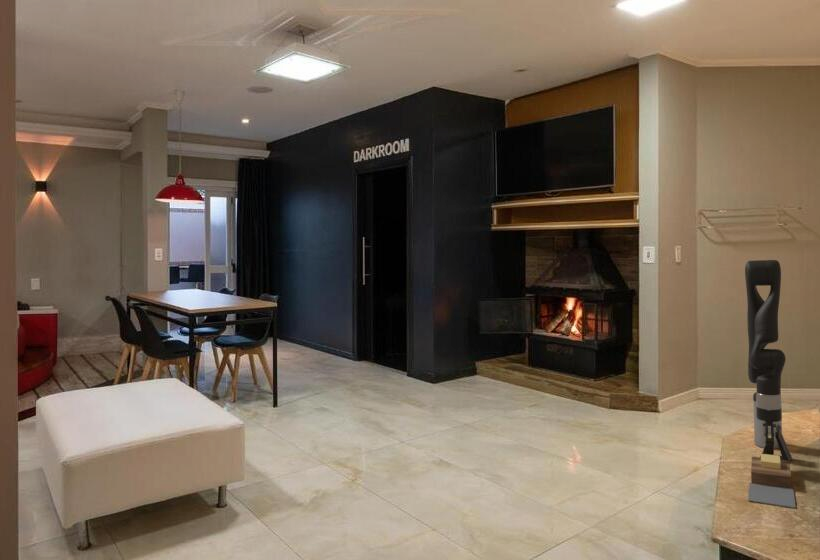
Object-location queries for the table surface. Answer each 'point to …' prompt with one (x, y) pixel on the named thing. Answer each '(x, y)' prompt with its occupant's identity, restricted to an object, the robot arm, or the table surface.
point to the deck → (771, 474)
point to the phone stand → (781, 445)
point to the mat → (772, 495)
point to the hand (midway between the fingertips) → (770, 455)
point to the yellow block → (770, 461)
